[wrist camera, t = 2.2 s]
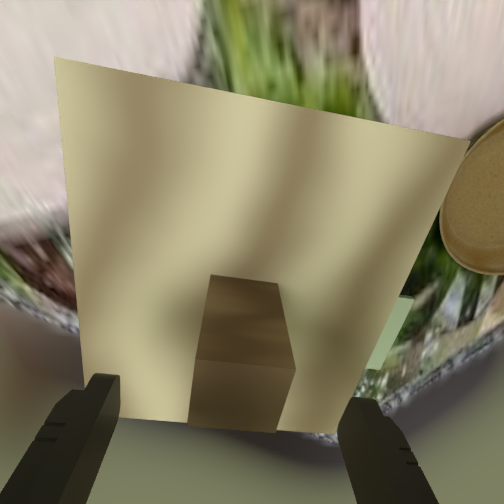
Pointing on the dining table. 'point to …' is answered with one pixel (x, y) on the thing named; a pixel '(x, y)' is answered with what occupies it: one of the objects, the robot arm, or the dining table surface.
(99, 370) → the small wooden table
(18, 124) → the dining table surface
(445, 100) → the dining table surface
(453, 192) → the plant saucer
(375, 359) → the plate
